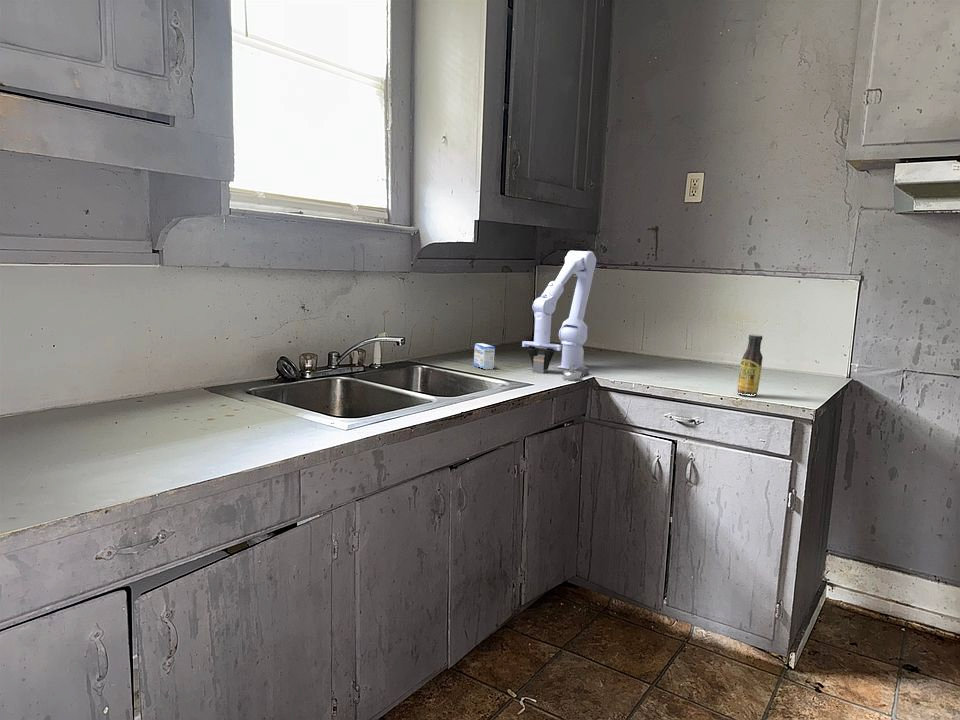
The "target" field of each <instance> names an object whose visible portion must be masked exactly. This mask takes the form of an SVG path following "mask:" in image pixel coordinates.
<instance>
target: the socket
mask: <svg viewBox="0 0 960 720" xmlns="http://www.w3.org/2000/svg"><path fill="white" fill-rule="evenodd" d="M533 361H534V362H533V367H532V372H533V373H535V372H536V374H546V373H548V369H544V364H545V354H538V355H535V356H534V359H533Z"/></svg>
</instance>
